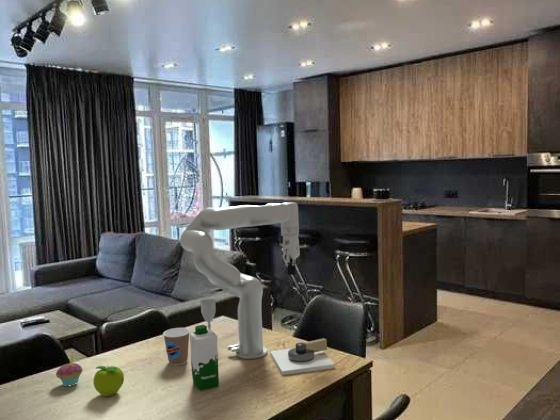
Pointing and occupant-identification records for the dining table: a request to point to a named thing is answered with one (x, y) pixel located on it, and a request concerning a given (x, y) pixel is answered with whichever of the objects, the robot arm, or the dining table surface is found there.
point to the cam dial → (307, 350)
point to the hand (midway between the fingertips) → (291, 274)
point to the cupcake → (69, 373)
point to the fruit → (108, 380)
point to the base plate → (290, 367)
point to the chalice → (208, 310)
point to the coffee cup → (177, 345)
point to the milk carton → (204, 358)
